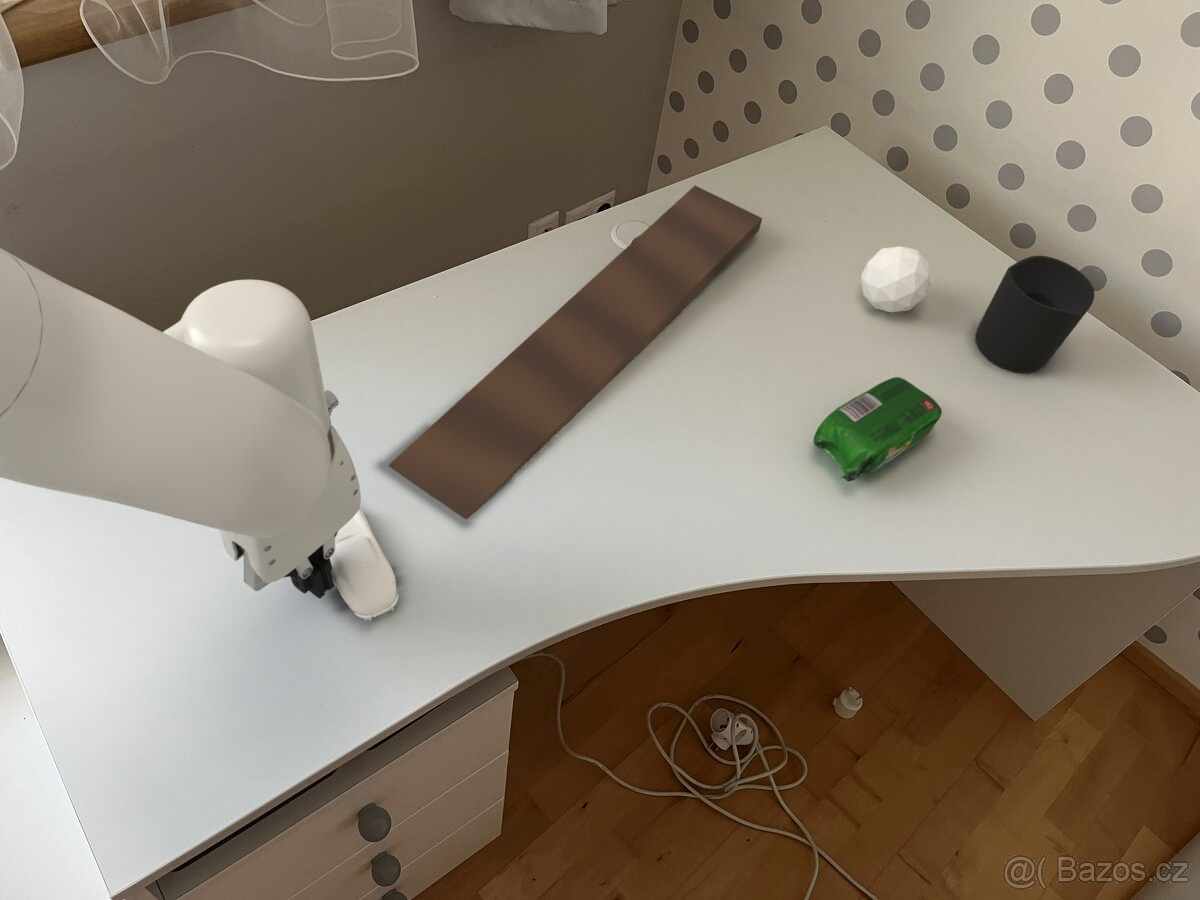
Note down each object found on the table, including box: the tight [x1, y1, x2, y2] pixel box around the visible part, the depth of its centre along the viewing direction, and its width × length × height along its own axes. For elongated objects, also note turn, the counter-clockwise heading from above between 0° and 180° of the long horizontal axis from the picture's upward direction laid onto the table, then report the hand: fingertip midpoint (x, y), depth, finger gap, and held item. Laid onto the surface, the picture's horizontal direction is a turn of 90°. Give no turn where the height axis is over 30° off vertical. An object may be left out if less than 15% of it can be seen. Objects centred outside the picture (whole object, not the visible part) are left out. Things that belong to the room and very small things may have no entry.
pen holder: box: [975, 255, 1095, 373], centre depth 102 cm, size 9×9×10 cm
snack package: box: [813, 376, 943, 482], centre depth 92 cm, size 7×16×5 cm, turn 127°
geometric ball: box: [860, 245, 932, 313], centre depth 106 cm, size 8×8×8 cm
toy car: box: [330, 507, 399, 621], centre depth 78 cm, size 5×12×4 cm, turn 32°
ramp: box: [387, 185, 763, 520], centre depth 99 cm, size 56×10×5 cm, turn 144°
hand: (314, 583), depth 76 cm, fingers closed
